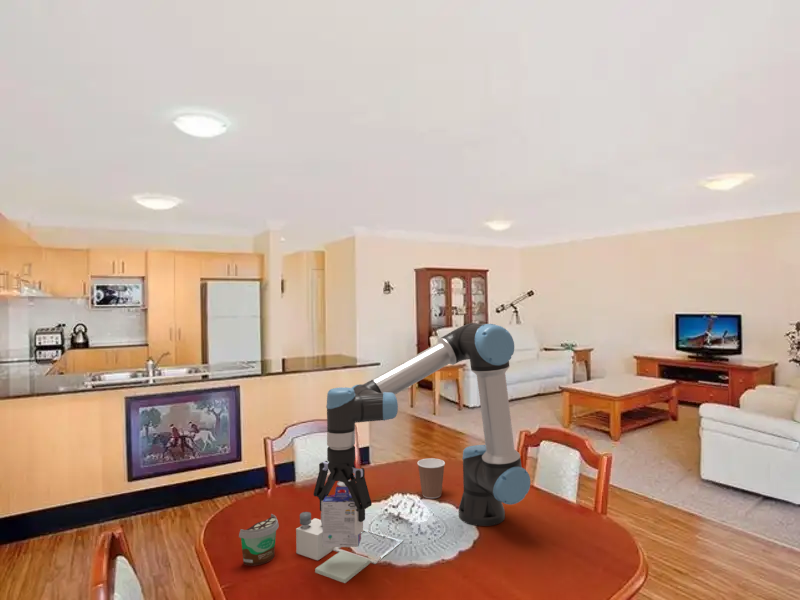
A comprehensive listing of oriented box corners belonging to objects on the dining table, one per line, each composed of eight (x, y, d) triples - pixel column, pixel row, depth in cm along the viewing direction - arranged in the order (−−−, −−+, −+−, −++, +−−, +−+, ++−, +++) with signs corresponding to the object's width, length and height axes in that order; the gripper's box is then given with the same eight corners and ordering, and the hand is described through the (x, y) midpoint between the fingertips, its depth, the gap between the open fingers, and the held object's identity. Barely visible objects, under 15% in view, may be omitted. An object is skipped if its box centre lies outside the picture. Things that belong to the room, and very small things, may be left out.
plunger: (313, 533, 142) (313, 513, 142) (306, 538, 139) (305, 517, 139) (305, 530, 144) (305, 511, 144) (297, 535, 141) (297, 515, 141)
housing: (403, 541, 146) (403, 517, 147) (361, 575, 128) (360, 548, 128) (343, 524, 159) (342, 502, 159) (296, 553, 140) (296, 528, 140)
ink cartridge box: (361, 537, 135) (361, 485, 135) (359, 547, 129) (358, 492, 129) (325, 538, 135) (325, 485, 135) (322, 548, 129) (321, 493, 130)
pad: (369, 563, 134) (369, 559, 134) (344, 583, 125) (344, 579, 125) (341, 554, 139) (341, 550, 139) (315, 572, 130) (315, 568, 130)
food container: (254, 572, 130) (254, 535, 130) (239, 566, 134) (238, 529, 134) (288, 552, 141) (287, 517, 141) (273, 547, 144) (272, 513, 144)
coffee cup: (450, 493, 183) (449, 460, 183) (437, 502, 175) (436, 468, 175) (426, 487, 189) (425, 456, 189) (412, 496, 180) (412, 464, 180)
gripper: (384, 448, 129) (385, 532, 129) (317, 437, 142) (318, 513, 141) (368, 456, 123) (369, 544, 123) (299, 443, 135) (300, 523, 135)
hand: (342, 528), depth 132 cm, fingers closed on ink cartridge box, 11 cm apart
